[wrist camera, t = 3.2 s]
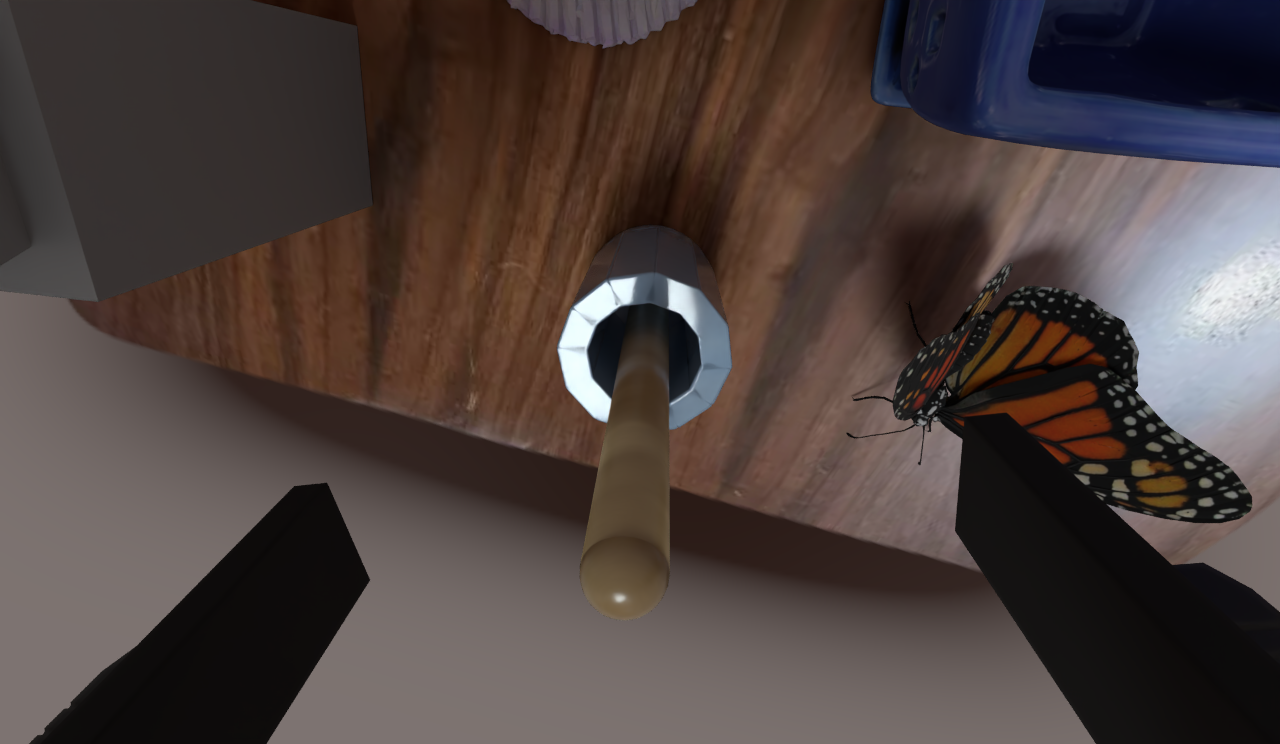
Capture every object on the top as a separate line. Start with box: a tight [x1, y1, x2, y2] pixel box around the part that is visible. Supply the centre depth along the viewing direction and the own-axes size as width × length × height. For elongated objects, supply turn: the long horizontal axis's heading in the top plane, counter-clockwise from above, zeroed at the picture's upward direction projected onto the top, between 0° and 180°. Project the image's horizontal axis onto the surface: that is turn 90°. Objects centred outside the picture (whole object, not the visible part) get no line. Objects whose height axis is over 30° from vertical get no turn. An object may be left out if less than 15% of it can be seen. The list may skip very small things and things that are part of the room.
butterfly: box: [846, 263, 1252, 523], centre depth 23 cm, size 12×10×10 cm
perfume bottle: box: [0, 0, 373, 302], centre depth 16 cm, size 7×7×18 cm
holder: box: [557, 225, 732, 429], centre depth 23 cm, size 6×6×8 cm
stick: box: [580, 303, 670, 620], centre depth 18 cm, size 2×2×18 cm
